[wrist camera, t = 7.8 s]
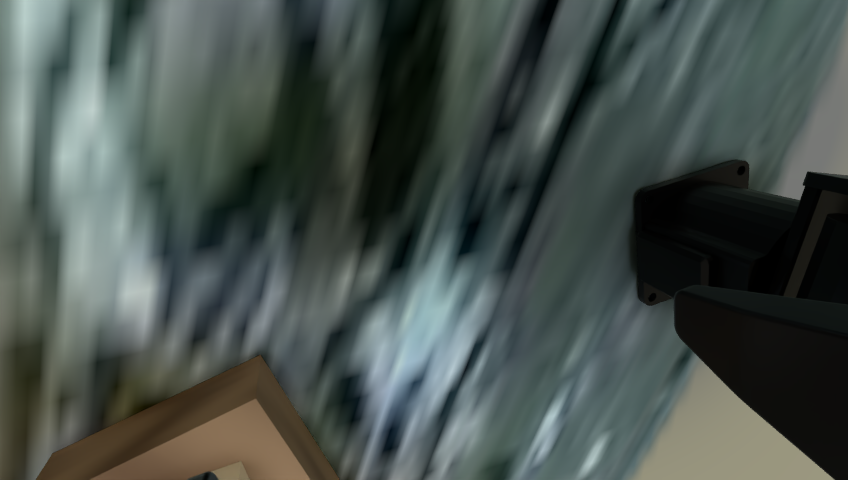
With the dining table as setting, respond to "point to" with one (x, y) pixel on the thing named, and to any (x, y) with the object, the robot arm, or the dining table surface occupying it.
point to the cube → (232, 472)
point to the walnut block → (202, 436)
